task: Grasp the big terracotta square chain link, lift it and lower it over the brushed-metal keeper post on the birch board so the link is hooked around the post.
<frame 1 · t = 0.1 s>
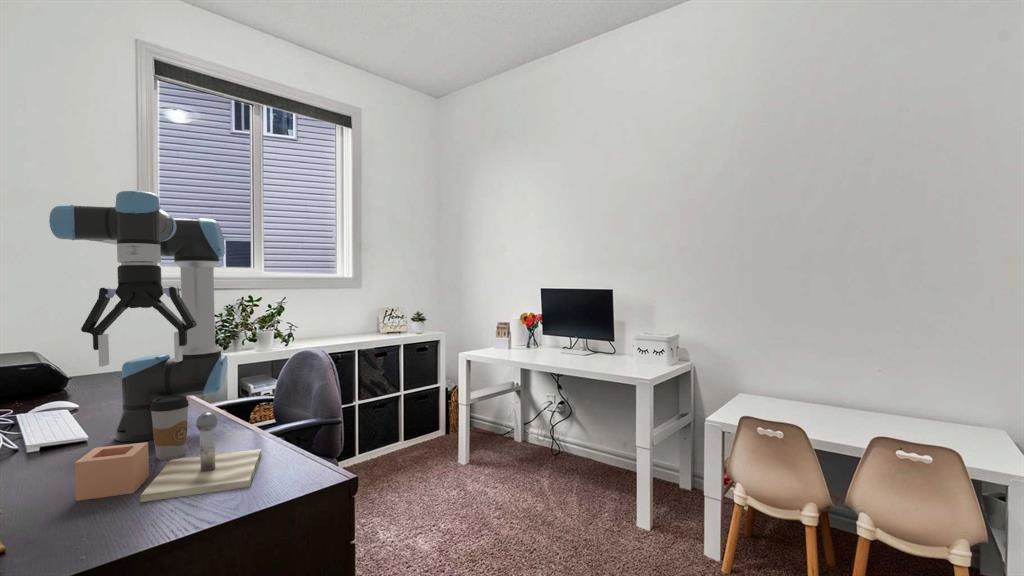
hand: (142, 363, 108), 28 cm above the table, fingers open, 13 cm apart
coffee cup: (171, 456, 130), on the table
keeper: (208, 475, 117), on the table
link: (114, 487, 111), on the table
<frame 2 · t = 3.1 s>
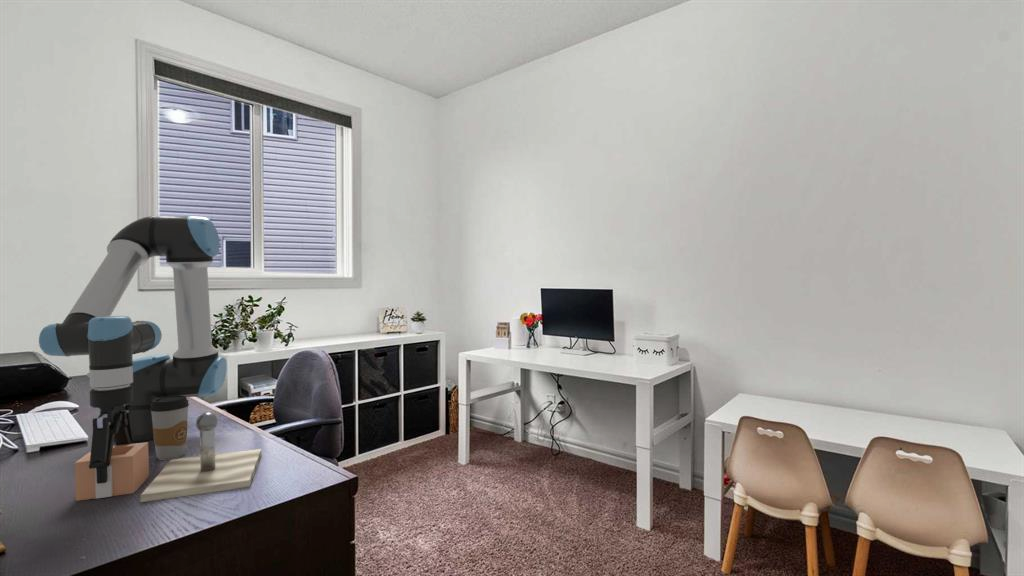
hand: (114, 487, 110), 0 cm above the table, fingers open, 10 cm apart
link: (114, 487, 111), on the table, touching gripper
everything else where it was.
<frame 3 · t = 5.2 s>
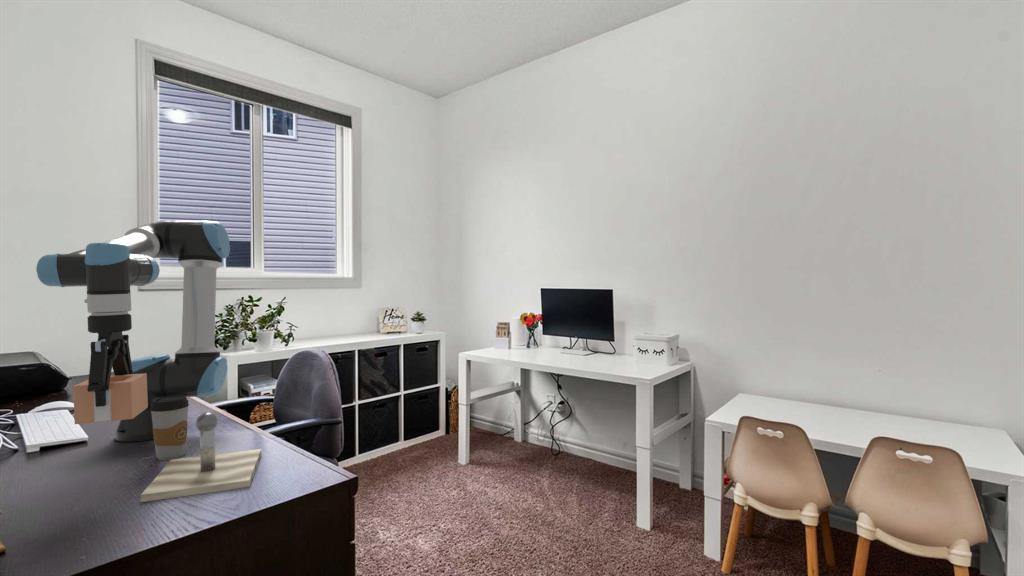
hand: (113, 414, 110), 16 cm above the table, fingers closed on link, 10 cm apart
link: (113, 415, 111), point 16 cm above the table, touching gripper
everything else where it was.
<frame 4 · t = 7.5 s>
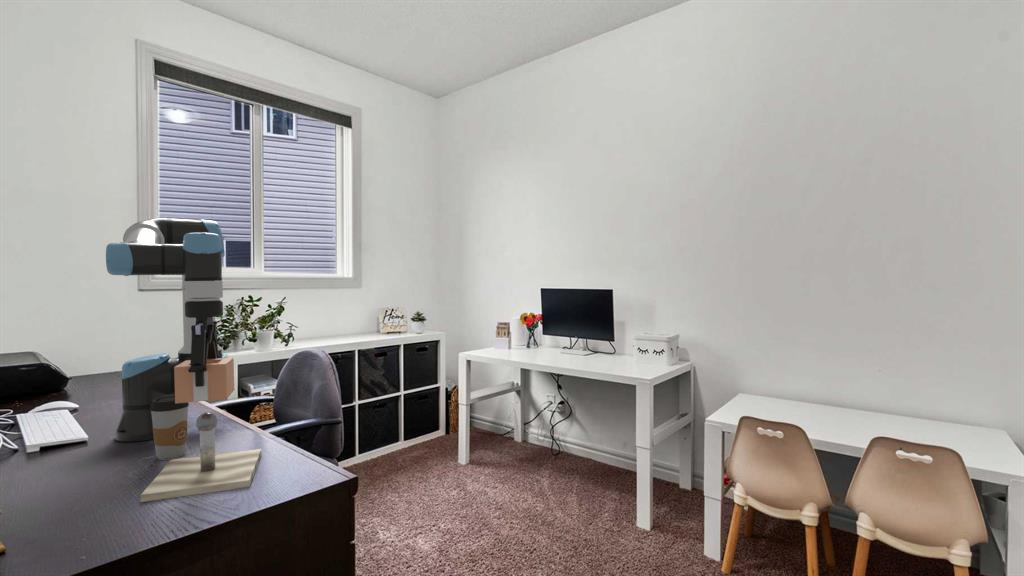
hand: (206, 395, 116), 19 cm above the table, fingers closed on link, 10 cm apart
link: (206, 396, 116), point 19 cm above the table, touching gripper
everything else where it was.
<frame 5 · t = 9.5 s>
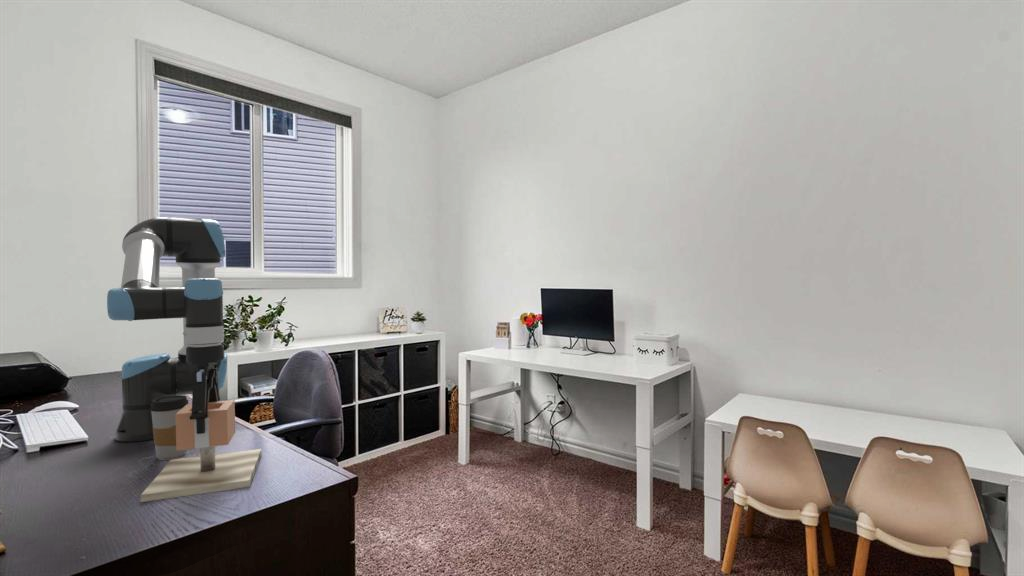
hand: (207, 440, 117), 8 cm above the table, fingers closed on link, 10 cm apart
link: (207, 441, 117), point 8 cm above the table, touching gripper
everything else where it was.
when the fingers open (4 cm above the table, at t = 11.2 s): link drops 2 cm, resting on keeper.
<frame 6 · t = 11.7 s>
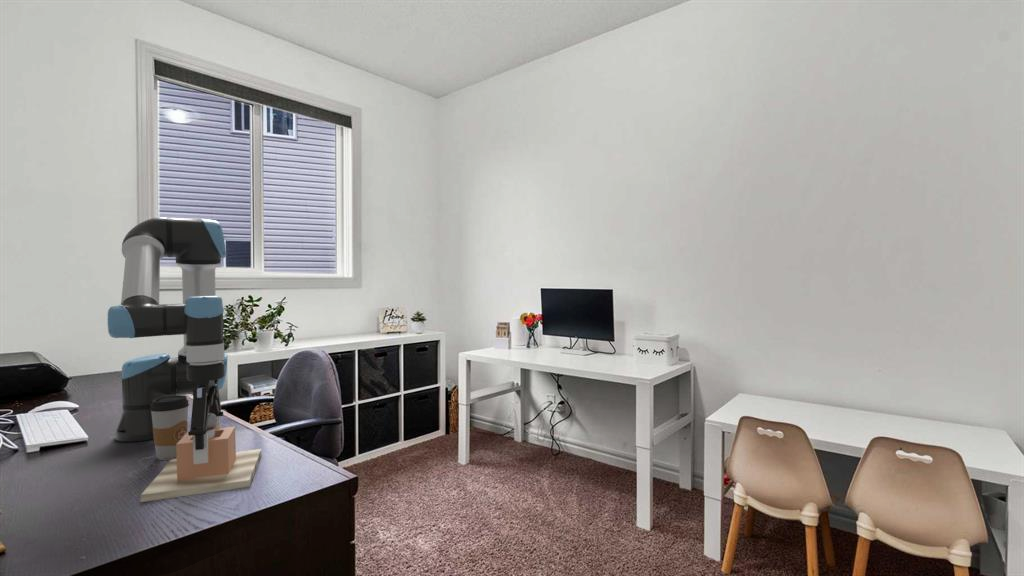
hand: (207, 453, 117), 5 cm above the table, fingers open, 13 cm apart
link: (208, 468, 117), point 1 cm above the table, touching keeper
everything else where it was.
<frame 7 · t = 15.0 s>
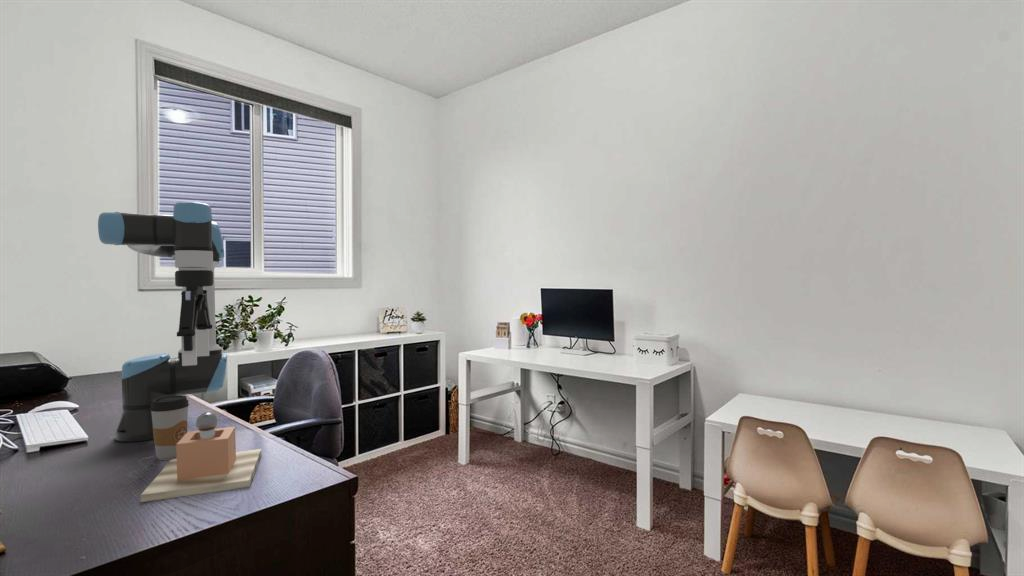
hand: (196, 360, 117), 27 cm above the table, fingers open, 13 cm apart
nothing on the table moved.
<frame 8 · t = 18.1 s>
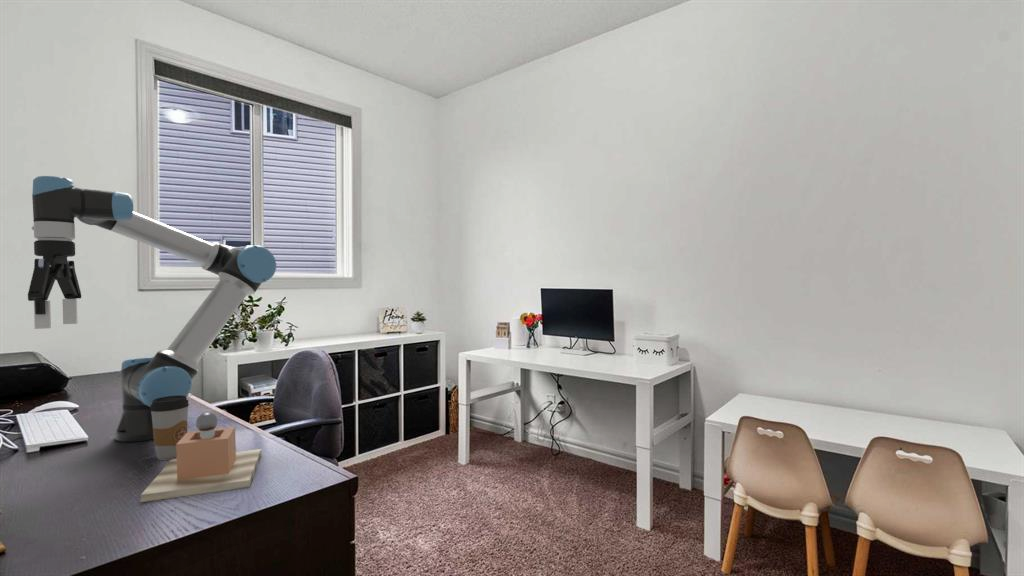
hand: (57, 326, 124), 35 cm above the table, fingers open, 13 cm apart
nothing on the table moved.
at the end: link 0.1 cm from the keeper (horizontally); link point 1.5 cm above the table; the gripper is holding nothing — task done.
